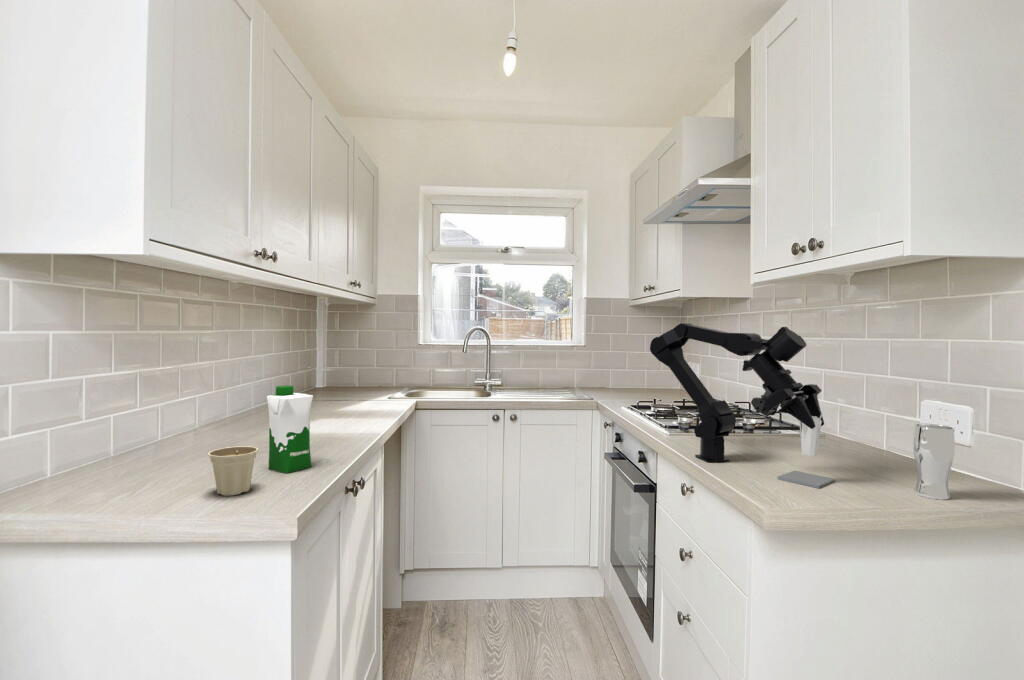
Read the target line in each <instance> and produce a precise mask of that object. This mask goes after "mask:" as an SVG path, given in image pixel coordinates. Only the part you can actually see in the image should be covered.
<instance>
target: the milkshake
mask: <svg viewBox="0 0 1024 680" xmlns="http://www.w3.org/2000/svg"><path fill="white" fill-rule="evenodd" d="M821 417H823V414H822V415H821V416H820V418H818V417H816V416H812V418H813V421H814V423H815V426H816V427H815V428H813V429H811V428H809V427H808V426H806V425H805V424H804V423H802V422H801V421H799V420H798V421H799V433H800V435H799V438H800V453H801V455H804V456H808V457H816V456H817V454H818V447H819V441H820V434H821V427H822V426H821V423H822V421H821Z"/></svg>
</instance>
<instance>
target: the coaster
mask: <svg viewBox="0 0 1024 680" xmlns="http://www.w3.org/2000/svg"><path fill="white" fill-rule="evenodd" d="M835 479H836V478H832V477H827V476H823V475H819V474H814V473H808V472H804V471H799V470H796V469H795V470H792V471H789V472H786V473H785V474H781V475H778V476H777V480H779V481H785V482H788V483H793V484H797V485H802V486H806V487H810V488H815V489H820V488H823V487H825V486H827V485H830V484H832V483H835V482H836V481H835Z"/></svg>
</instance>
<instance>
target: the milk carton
mask: <svg viewBox="0 0 1024 680" xmlns="http://www.w3.org/2000/svg"><path fill="white" fill-rule="evenodd" d="M313 398H314V395H312V394H307V393H299V392H294V385H277V386H276V387H275V394H271V395H267V396H266V402H267V409H268V416H269V417H268V420H269V421H268V424H269V427H268V430H269V431H268V432H269V434H268V435H269V437H268V438H269V440H268V441H269V442H268V445H269V446H268V447H269V448H268V450H269V452H268V470H271V471H276V472H279V473H284V474H290V473H295V472H297V471H302V470H305V469H309V468H312V458H311V445H310V444H311V441H310V439H311V437H310V435H311V434H310V432H311V431H310V429H311V428H310V427H311V426H310V424H311V423H310V422H311V421H310V420H311V418H310V417H311V416H310V415H311V412H310V411H311V406H312V403H313Z"/></svg>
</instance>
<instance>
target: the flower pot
mask: <svg viewBox="0 0 1024 680" xmlns="http://www.w3.org/2000/svg"><path fill="white" fill-rule="evenodd" d="M258 451H259V448H258V447H257V446H256V447H255V446H249V445H244V446H243V445H242V446H241V445H238V446H229V447H221V448H216V449H213V450H210V451H208V453H207V456H208V457H210V462H211V464H212V468H213V474H214V481H215V487H216V493H217V494H218V495H221V496H225V497H226V496H237V495H240V494H241V493H247V492H249V491H250V490H251V485H252V484H251V483H252V477H253V471H254V470H253V469H254V464H255V463H254V462H255V459H256V457H257V452H258Z"/></svg>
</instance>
